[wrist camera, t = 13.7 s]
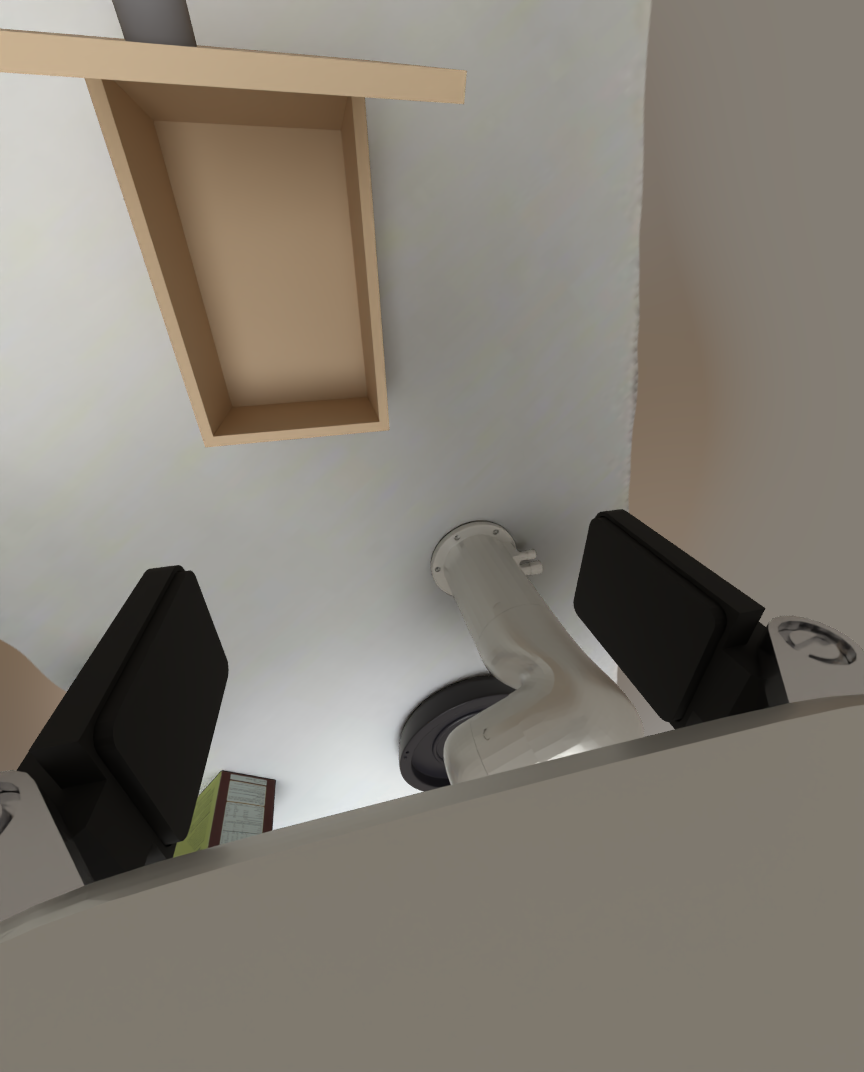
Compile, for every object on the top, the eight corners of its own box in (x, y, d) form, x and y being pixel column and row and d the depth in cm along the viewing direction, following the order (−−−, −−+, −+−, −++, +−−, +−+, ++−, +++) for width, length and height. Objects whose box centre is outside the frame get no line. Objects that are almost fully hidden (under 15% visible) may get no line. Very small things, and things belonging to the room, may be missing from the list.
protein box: (178, 817, 73) (149, 931, 60) (221, 769, 69) (201, 879, 56) (234, 824, 78) (219, 929, 66) (277, 779, 74) (270, 882, 62)
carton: (349, 119, 32) (362, 63, 24) (375, 402, 44) (389, 430, 36) (139, 107, 29) (71, 38, 21) (226, 414, 41) (205, 447, 33)
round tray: (440, 783, 90) (558, 716, 88) (447, 812, 85) (572, 742, 83) (363, 727, 73) (506, 643, 71) (367, 759, 68) (521, 670, 66)
